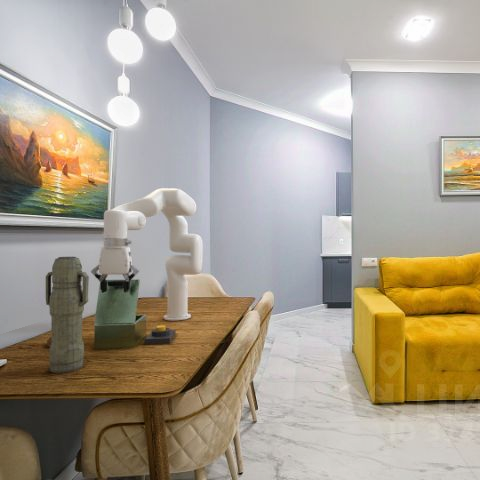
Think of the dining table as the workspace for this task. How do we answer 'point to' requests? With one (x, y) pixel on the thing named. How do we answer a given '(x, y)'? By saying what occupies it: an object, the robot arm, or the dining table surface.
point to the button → (161, 328)
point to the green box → (120, 334)
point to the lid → (117, 303)
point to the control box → (160, 337)
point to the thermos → (66, 313)
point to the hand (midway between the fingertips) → (115, 291)
